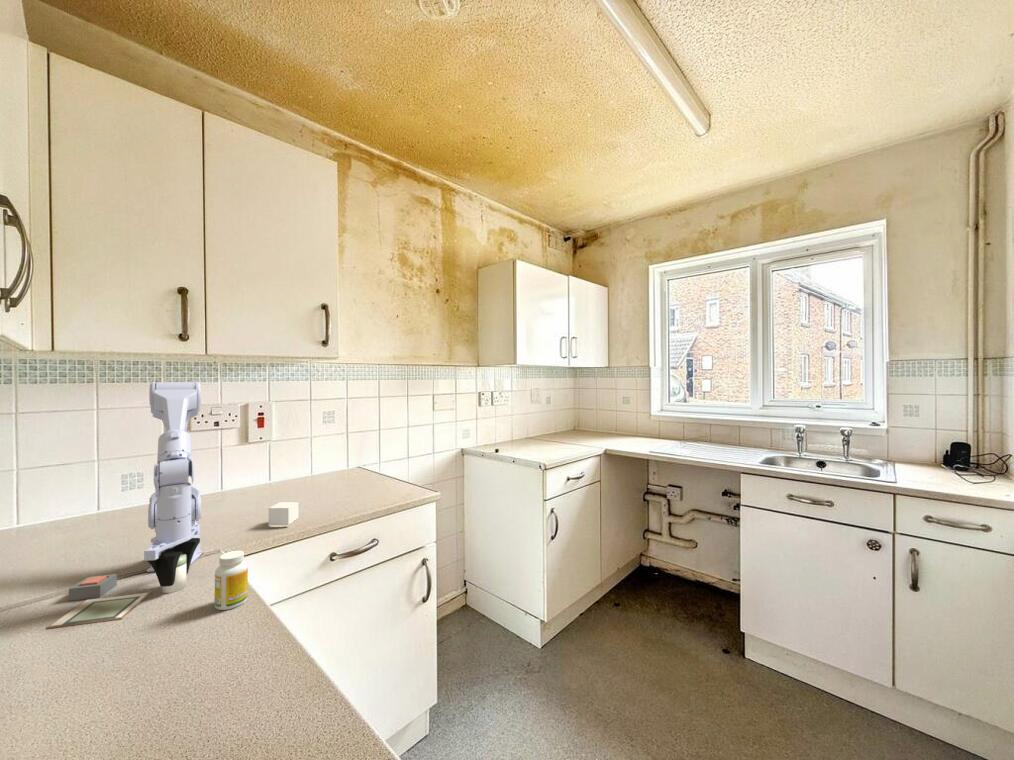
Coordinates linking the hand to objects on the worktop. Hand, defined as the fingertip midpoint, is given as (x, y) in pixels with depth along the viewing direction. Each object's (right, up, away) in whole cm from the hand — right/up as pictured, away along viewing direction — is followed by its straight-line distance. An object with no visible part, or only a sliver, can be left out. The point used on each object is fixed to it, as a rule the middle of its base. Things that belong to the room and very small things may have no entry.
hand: (174, 580), depth 86 cm
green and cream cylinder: (0, -2, 0) cm, 2 cm away
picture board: (-7, -2, -8) cm, 11 cm away
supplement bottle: (+16, -2, -6) cm, 17 cm away
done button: (-15, 0, -2) cm, 16 cm away
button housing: (-15, -2, -2) cm, 16 cm away
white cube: (+2, -2, +39) cm, 39 cm away
